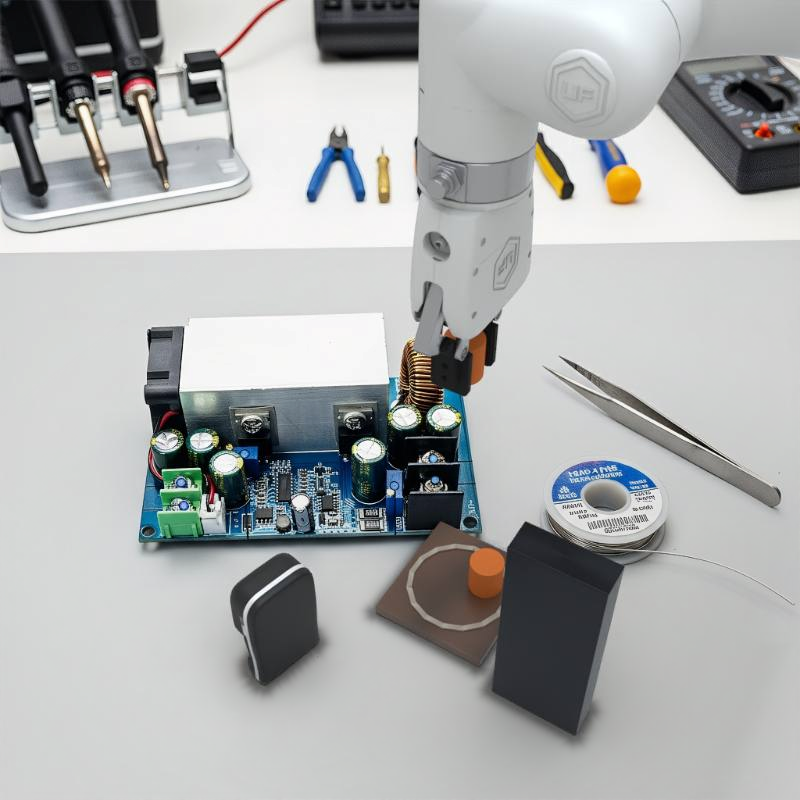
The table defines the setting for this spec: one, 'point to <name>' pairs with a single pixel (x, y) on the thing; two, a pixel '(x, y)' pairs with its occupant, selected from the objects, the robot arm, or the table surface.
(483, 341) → the eye dot
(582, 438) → the table surface
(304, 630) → the battery charger
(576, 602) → the dot stand
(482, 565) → the eye dot
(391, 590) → the board
